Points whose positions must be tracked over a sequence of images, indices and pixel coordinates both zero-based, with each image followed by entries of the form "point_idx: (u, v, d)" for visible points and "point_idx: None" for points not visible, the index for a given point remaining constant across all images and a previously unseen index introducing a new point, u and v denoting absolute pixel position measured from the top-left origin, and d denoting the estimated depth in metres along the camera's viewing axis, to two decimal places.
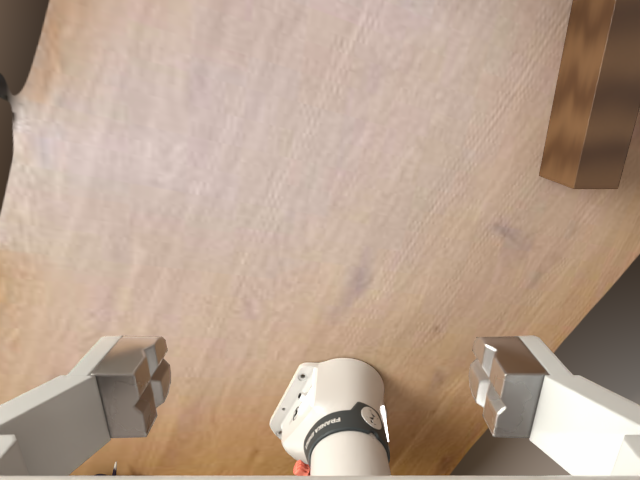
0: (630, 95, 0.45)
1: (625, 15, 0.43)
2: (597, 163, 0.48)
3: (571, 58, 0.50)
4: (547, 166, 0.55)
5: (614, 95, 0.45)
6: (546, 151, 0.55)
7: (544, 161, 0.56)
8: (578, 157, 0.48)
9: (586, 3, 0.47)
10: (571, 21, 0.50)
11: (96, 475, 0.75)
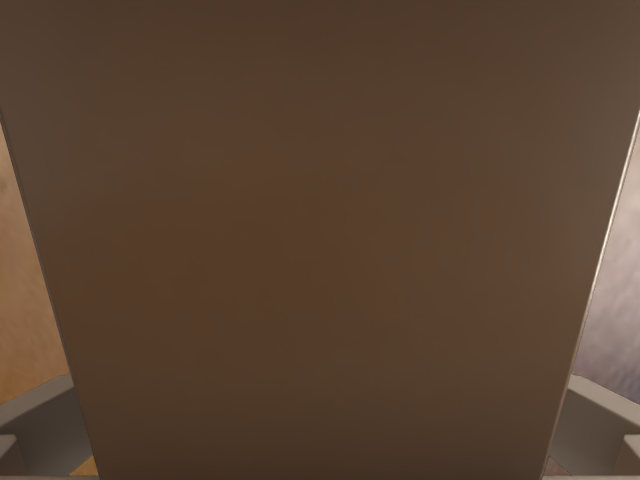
0: None
1: None
2: None
3: None
4: None
5: None
6: None
7: None
8: None
9: None
10: None
11: None
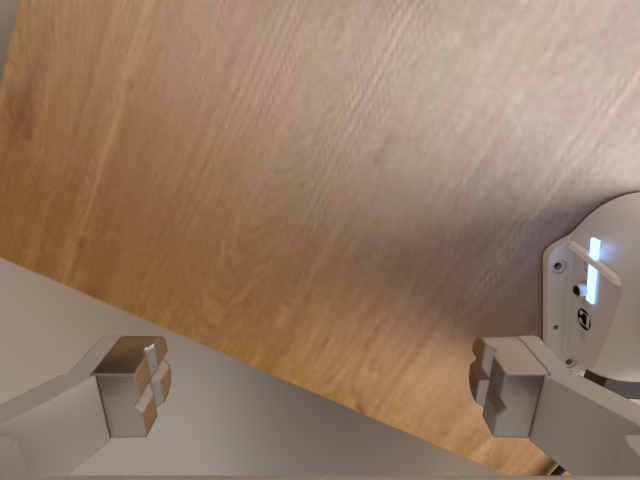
0: None
1: None
2: None
3: None
4: None
5: None
6: None
7: None
8: None
9: None
10: None
11: None
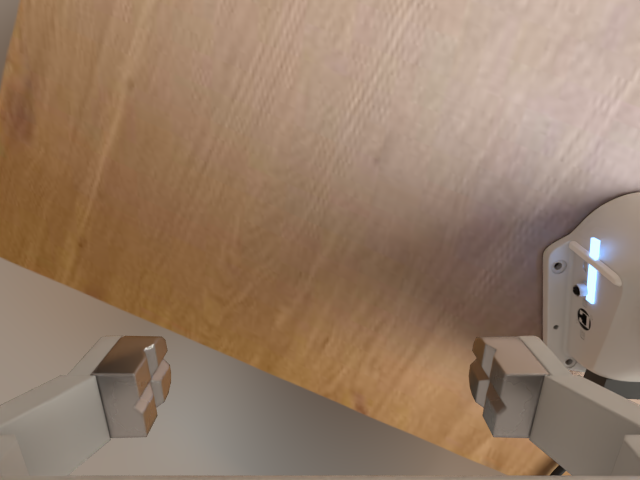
0: None
1: None
2: None
3: None
4: None
5: None
6: None
7: None
8: None
9: None
10: None
11: None
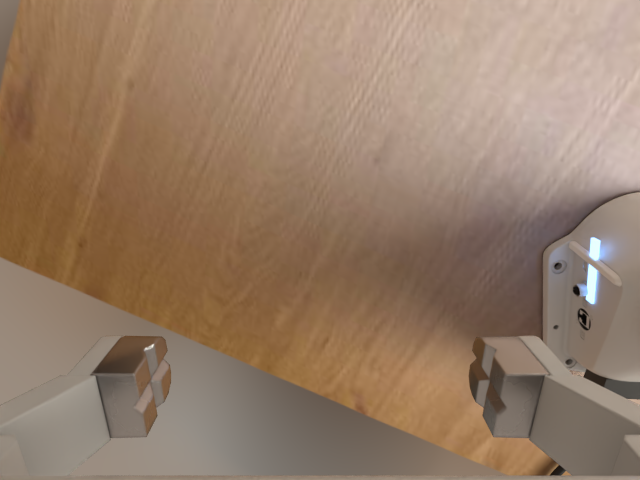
0: None
1: None
2: None
3: None
4: None
5: None
6: None
7: None
8: None
9: None
10: None
11: None
